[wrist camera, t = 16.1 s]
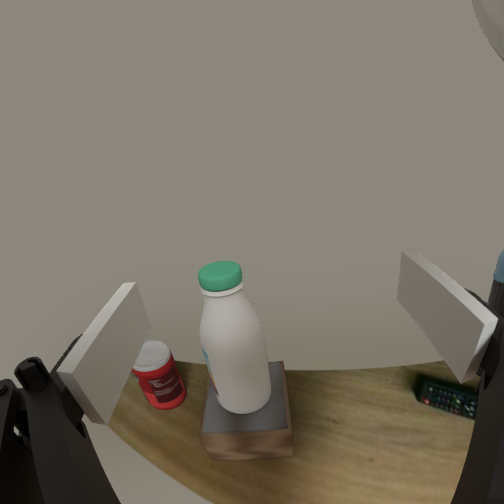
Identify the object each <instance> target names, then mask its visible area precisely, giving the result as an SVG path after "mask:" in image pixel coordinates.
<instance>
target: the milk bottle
mask: <svg viewBox="0 0 504 504" xmlns="http://www.w3.org/2000/svg"><path fill="white" fill-rule="evenodd" d="M198 279H199V283H200V286H201V291H202V293H203V294H204V295H205V304H204V310H203V315H202V318H201V323H200V341H201V346H202V349H203V353H204V357H205V361H206V364H207V368H208V371H209V374H210V378H211V381H212V384H213V387H214V390H215V393H216V396H217V399H218V401H219V403H220V405H221V406H222V407H223V408H225V409H226V410H228V411H230V412H233V413H237V414H247V413H252V412H255V411H257V410H259V409H261V408H262V407H263V406H264V405H265V404H266V403H267V402H268V400H269V398H270V396H271V383H270V374H269V366H268V359H267V352H266V345H265V338H264V333H263V328H262V325H261V322H260V319H259V318H258V315H257V314H256V312H255V311H254V309H253V308H252V307H251V305H250V304H249V302H248V301H247V300H246V298H245V296H244V294H243V291H242V286H243V281H242V271H241V267H240V265H239V264H237V263H235V262H232V261H220V262H214V263H211V264H208V265H206V266H204V267H202V268H201V269H200V270H199V272H198Z"/></svg>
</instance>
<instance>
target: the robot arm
mask: <svg viewBox="0 0 504 504" xmlns="http://www.w3.org/2000/svg"><path fill="white" fill-rule="evenodd" d="M472 2H473V7H474V11H475V14H476V17H477V19H478V22H479V24H480V26H481V28H482V30H483V32H484V34H485V35H486V37H487V39H488V40H489V42H490V44H491V45H492V47H493V48H494V49H495V51H496V52H497V54H498V55H499V56H500V57H501V58H502V59H503V61H504V0H472ZM493 277H494V280H493V284H492V288H491V292H490V296H489V299H488V303H486V302H484V301H483V300H481V298H480V297H479V296H477V295H476V294H475V293H473V292H471V291H469V290H467V289H465V288H463V287H461V286H460V285H459V284H458V283H457V282H455V281H454V280H453V279H451V278H450V277H449V276H448V275H446V274H445V273H444V272H443V271H442V270H440V269H439V268H438V267H436V266H435V265H434V264H433V263H431V262H430V261H429V260H427V259H426V258H425V257H423V256H422V255H421V254H419V253H418V252H417V251H415V250H406V251H402V252H401V263H400V274H399V284H398V292H397V300H398V302H399V303H400V304H401V305H402V306H403V308H404V309H405V310H406V311H407V313H408V314H409V315H410V316H411V318H412V319H413V320H414V321H415V323H416V324H417V325H418V326H419V328H420V329H421V330H422V331H423V333H424V334H425V335H426V336H427V338H428V339H429V340H430V342H431V343H432V344H433V346H434V347H435V348H436V350H437V351H438V352H439V354H440V355H441V356H442V358H443V359H444V361H445V362H446V363H447V365H448V366H449V367H450V369H451V370H452V372H453V373H454V374H455V376H456V377H457V379H458V380H459V382H460V383H463V382H465V381H468V380H470V379H472V378H474V377H475V375H476V373H477V374H478V375H480V376H481V379H480V381H479V383H478V384H477V386H476V389H475V391H474V392H477V390H478V388H479V387H480V393H479V400H478V407H477V413H476V418H475V423H474V428H473V433H472V437H471V442H470V446H469V450H468V453H467V457H466V461H465V464H464V467H463V471H462V474H461V477H460V480H459V483H458V486H457V489H456V491H455V494H454V497H453V499H452V502H451V504H504V250H503V251H502V252H501V254H500V255H499V258H498V262H497V266H496V270H495V271H494V275H493ZM150 330H151V325H150V322H149V319H148V317H147V314H146V311H145V308H144V305H143V302H142V298H141V295H140V292H139V289H138V286H137V283H136V282H132V283H123V284H122V286H121V287H120V288H119V289H118V290H117V292H116V293H115V294H114V295H113V296H112V298H111V299H110V300H109V301H108V303H107V304H106V305H105V307H104V308H103V309H102V310H101V311H100V313H99V314H98V315H97V316H96V318H95V319H94V320H93V322H92V323H91V324H90V326H89V327H88V328H87V330H86V331H85V332H84V333H83V334H81V335H80V336H79V337H77V338H76V339H75V340H74V341H73V342H72V343H71V345H70V346H69V347H68V350H66V352H65V353H64V356H62V357H61V358H60V360H59V361H58V362H57V364H56V365H55V366H54V368H53V369H52V371H51V372H50V374H49V372H48V371H47V369H46V367H45V366H44V364H43V362H42V361H41V359H40V358H38V357H30V358H27V359H25V360H24V361H22V362H21V363H20V364H19V365H18V366H17V367H16V369H15V372H14V374H15V376H16V377H17V379H18V380H19V382H20V383H21V385H22V386H23V388H18V389H17V387H16V386H15V384H14V383H13V381H12V380H10V379H4V380H1V381H0V504H121V503H120V501H119V500H118V498H117V496H116V494H115V492H114V490H113V488H112V486H111V484H110V483H109V480H108V478H107V476H106V474H105V472H104V470H103V468H102V466H101V463H100V461H99V459H98V456H97V454H96V452H95V449H94V447H93V444H92V442H91V439H90V437H89V434H88V431H87V428H86V426H85V424H84V422H83V421H82V420H81V419H82V417H83V415H84V413H85V415H86V416H87V417H88V418H89V420H90V421H91V422H92V423H97V424H102V425H108V423H109V420H110V418H111V415H112V413H113V411H114V408H115V406H116V404H117V401H118V399H119V397H120V394H121V392H122V390H123V388H124V385H125V383H126V381H127V379H128V377H129V374H130V372H131V370H132V368H133V366H134V364H135V361H136V359H137V357H138V355H139V353H140V351H141V349H142V347H143V344H144V342H145V340H146V338H147V336H148V334H149V332H150ZM14 426H15V427H16V428H17V429H18V430H19V435H18V436H17V435H16V434H15V433H14Z"/></svg>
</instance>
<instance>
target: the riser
mask: <svg viewBox="0 0 504 504" xmlns="http://www.w3.org/2000/svg"><path fill="white" fill-rule="evenodd" d="M268 366H269V374H270V383H271V396H270V398H269V400H268V402H267V403H266V404H265V405H264V406H263V407H262V408H261V409H259V410H257V411H255V412H252V413H247V414H237V413H233V412H230V411H228V410H226V409H225V408H223V407H222V406H221V405H220V403H219V401H218V399H217V396H216V393H215V390H214V387H213V384H212V381H211V378H210V374H208V381H207V387H206V393H205V399H204V405H203V412H202V418H201V425H200V431H199V437H200V439H201V441H202V443H203V445H204V447H205V448H206V450H207V452H208V454H209V456H210V458H211V459H212V460H251V459H267V458H279V457H288V456H293V433H292V424H291V416H290V408H289V400H288V393H287V385H286V378H285V370H284V363H283V361H279V362H268Z"/></svg>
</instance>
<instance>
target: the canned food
mask: <svg viewBox="0 0 504 504" xmlns="http://www.w3.org/2000/svg"><path fill="white" fill-rule="evenodd" d="M132 372H133V374H134V376H135V378H136V379H137V381H138V383H139V385H140V387H141V389H142V391H143V393H144V394H145V396H146V398H147V400H148V402H149V403H150V404H151V405H152V406H154V407H155V408H158V409H161V410H169V409H173V408H175V407H177V406H179V405H180V404H181V403H182V402H183V401H184V399H185V395H186V390H185V387H184V384H183V382H182V379H181V377H180V374H179V372H178V369H177V366H176V364H175V361H174V358H173V356H172V353H171V351H170V349H169V347H168V345H167V344H165V343H164V342H161V341H147V342H144V344H143V347H142V349H141V351H140V353H139V355H138V357H137V359H136V361H135V364H134V366H133V368H132Z"/></svg>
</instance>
